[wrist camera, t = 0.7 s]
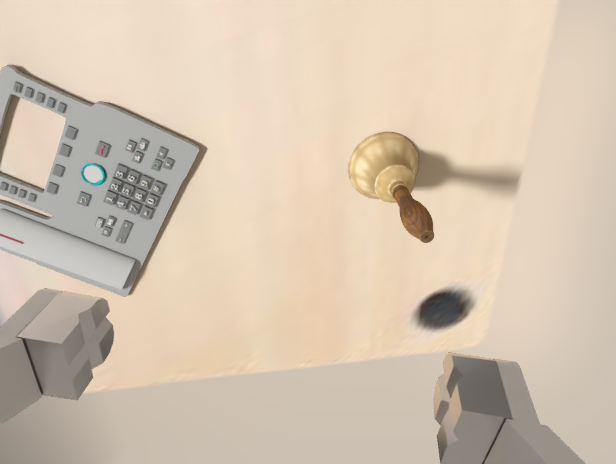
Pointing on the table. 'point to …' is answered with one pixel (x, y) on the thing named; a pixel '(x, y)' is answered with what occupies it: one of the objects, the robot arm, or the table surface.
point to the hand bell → (391, 178)
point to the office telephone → (93, 188)
